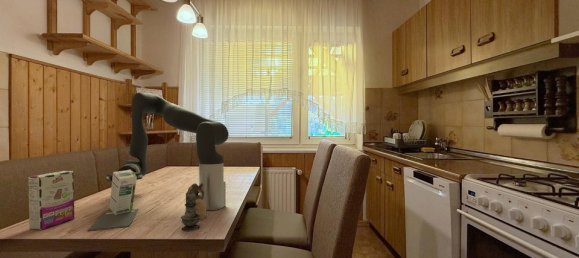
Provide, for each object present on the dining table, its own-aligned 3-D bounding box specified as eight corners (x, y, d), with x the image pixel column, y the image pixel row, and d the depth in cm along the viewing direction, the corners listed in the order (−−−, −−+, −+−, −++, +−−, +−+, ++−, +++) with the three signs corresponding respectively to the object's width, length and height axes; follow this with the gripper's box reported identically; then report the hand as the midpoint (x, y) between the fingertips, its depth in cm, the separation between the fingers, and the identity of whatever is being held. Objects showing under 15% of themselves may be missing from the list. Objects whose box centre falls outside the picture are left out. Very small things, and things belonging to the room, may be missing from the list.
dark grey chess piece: (180, 226, 91) (180, 188, 91) (199, 223, 93) (199, 186, 93) (181, 232, 86) (181, 192, 86) (201, 229, 88) (201, 190, 88)
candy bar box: (62, 218, 100) (62, 170, 99) (75, 219, 99) (74, 170, 98) (27, 229, 89) (27, 175, 88) (40, 230, 88) (40, 176, 87)
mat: (104, 212, 106) (104, 211, 106) (138, 209, 110) (138, 208, 110) (87, 231, 87) (87, 229, 87) (129, 226, 91) (129, 225, 91)
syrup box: (115, 215, 101) (120, 179, 97) (108, 207, 104) (113, 171, 101) (132, 211, 105) (137, 176, 102) (125, 203, 109) (130, 168, 105)
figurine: (189, 215, 103) (188, 181, 103) (208, 215, 103) (208, 181, 103) (180, 221, 96) (180, 185, 96) (202, 221, 96) (202, 185, 96)
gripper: (110, 165, 118) (98, 170, 102) (146, 163, 123) (140, 168, 107) (110, 183, 118) (98, 192, 102) (146, 181, 123) (140, 189, 107)
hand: (120, 180), depth 104 cm, fingers closed
